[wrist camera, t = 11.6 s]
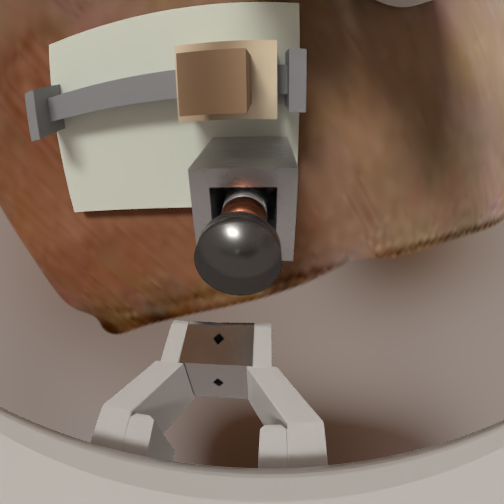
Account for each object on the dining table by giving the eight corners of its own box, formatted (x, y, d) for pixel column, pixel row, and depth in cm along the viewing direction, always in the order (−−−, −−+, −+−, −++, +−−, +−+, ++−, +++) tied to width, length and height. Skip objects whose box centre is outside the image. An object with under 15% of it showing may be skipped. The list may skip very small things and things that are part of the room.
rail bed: (297, 6, 16) (305, -10, 12) (294, 201, 25) (299, 229, 21) (56, 44, 17) (21, 46, 13) (80, 206, 26) (54, 231, 22)
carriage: (275, 45, 17) (281, 27, 10) (275, 112, 20) (281, 135, 13) (187, 49, 17) (143, 38, 10) (190, 115, 20) (150, 140, 13)
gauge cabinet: (286, 133, 22) (298, 168, 14) (284, 201, 25) (292, 265, 17) (215, 134, 22) (187, 169, 14) (219, 200, 25) (199, 264, 18)
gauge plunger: (276, 162, 18) (283, 223, 11) (275, 214, 20) (280, 295, 13) (218, 162, 18) (189, 223, 12) (221, 214, 20) (199, 294, 14)
